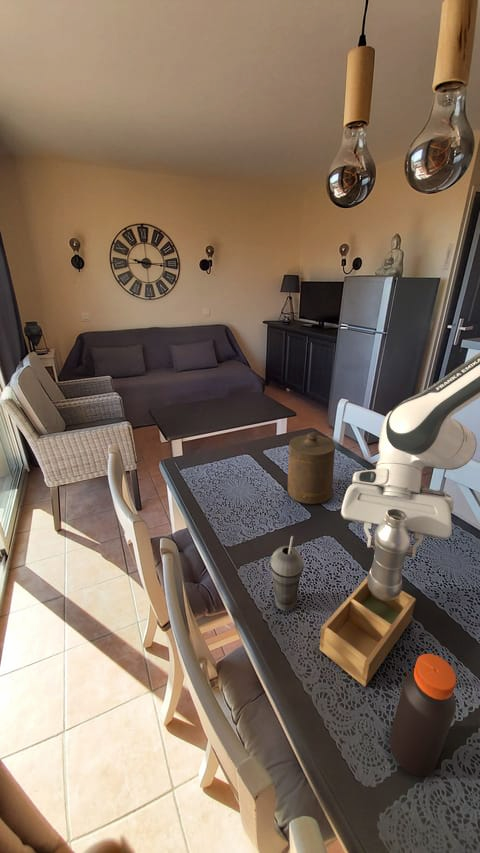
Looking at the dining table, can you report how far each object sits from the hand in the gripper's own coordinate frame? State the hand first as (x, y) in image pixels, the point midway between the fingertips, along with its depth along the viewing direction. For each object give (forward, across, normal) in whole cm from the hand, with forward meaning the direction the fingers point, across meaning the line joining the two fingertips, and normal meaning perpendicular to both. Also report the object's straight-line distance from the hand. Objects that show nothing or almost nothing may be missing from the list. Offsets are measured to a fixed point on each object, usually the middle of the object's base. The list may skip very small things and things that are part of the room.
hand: (390, 552), depth 70 cm
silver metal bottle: (+8, 0, -9) cm, 12 cm away
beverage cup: (+15, +20, -12) cm, 28 cm away
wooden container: (-17, +23, -45) cm, 54 cm away
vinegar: (+30, -6, +2) cm, 30 cm away
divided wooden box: (+16, +2, -11) cm, 20 cm away
